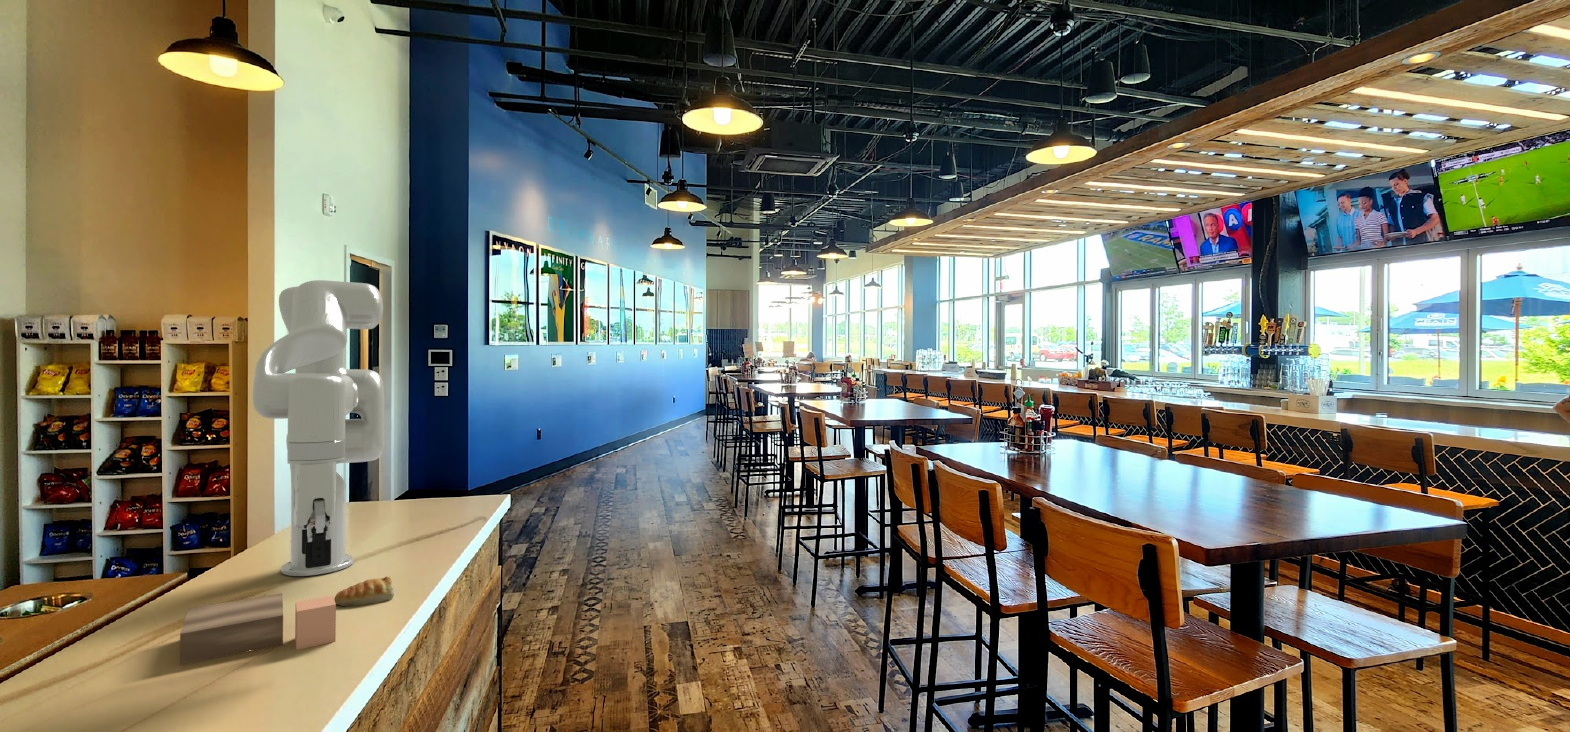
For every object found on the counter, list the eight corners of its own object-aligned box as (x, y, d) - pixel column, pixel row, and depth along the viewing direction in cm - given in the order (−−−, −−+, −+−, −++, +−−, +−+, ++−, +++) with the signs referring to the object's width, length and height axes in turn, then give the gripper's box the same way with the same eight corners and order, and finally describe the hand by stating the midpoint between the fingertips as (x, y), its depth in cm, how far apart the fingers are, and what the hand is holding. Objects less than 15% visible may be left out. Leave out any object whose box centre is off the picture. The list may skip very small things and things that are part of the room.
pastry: (336, 612, 118) (336, 590, 118) (332, 601, 123) (332, 581, 123) (396, 600, 124) (396, 580, 124) (390, 590, 129) (390, 571, 129)
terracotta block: (295, 638, 106) (295, 601, 106) (332, 631, 109) (333, 595, 109) (296, 650, 102) (297, 611, 102) (335, 641, 105) (335, 604, 105)
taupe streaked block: (188, 639, 106) (188, 608, 106) (282, 622, 113) (282, 593, 113) (179, 667, 96) (180, 633, 96) (282, 646, 104) (283, 615, 104)
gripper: (285, 448, 110) (284, 551, 109) (289, 459, 96) (288, 577, 96) (339, 445, 114) (338, 544, 114) (350, 455, 101) (349, 567, 101)
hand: (315, 559), depth 105 cm, fingers open, 9 cm apart
